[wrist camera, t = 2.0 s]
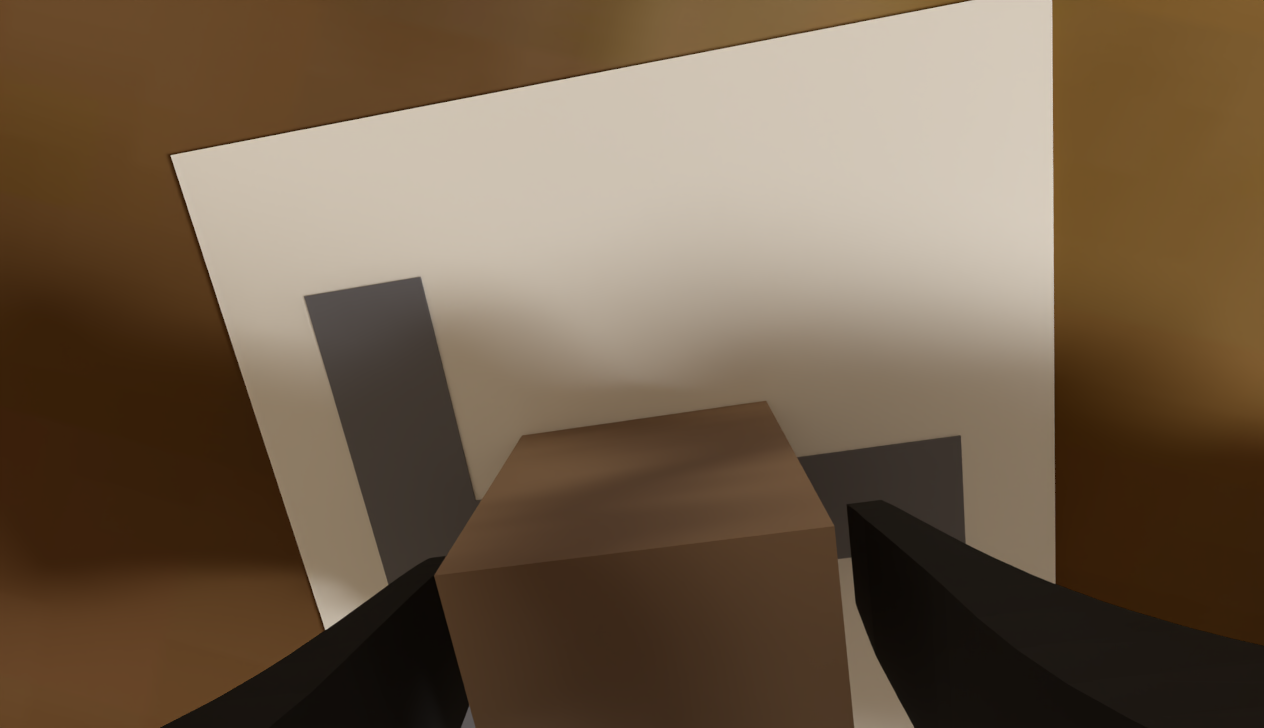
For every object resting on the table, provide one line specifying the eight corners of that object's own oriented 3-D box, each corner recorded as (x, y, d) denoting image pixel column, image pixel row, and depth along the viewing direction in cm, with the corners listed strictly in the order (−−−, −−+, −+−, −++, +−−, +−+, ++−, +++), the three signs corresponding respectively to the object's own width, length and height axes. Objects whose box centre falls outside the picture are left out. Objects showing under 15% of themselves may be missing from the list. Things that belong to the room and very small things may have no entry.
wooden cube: (765, 400, 12) (834, 525, 7) (792, 617, 13) (866, 850, 8) (521, 435, 13) (433, 575, 8) (567, 642, 14) (516, 878, 9)
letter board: (1044, -12, 10) (1053, -16, 10) (1051, 821, 15) (1057, 831, 14) (178, 156, 12) (168, 155, 12) (410, 873, 16) (406, 882, 16)
